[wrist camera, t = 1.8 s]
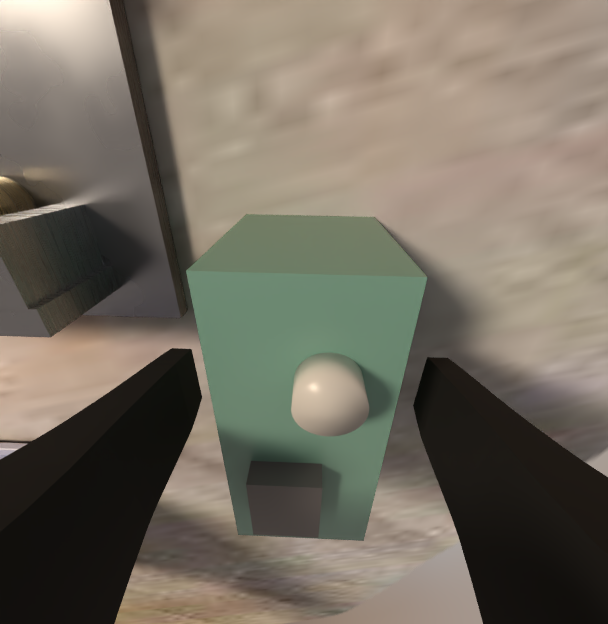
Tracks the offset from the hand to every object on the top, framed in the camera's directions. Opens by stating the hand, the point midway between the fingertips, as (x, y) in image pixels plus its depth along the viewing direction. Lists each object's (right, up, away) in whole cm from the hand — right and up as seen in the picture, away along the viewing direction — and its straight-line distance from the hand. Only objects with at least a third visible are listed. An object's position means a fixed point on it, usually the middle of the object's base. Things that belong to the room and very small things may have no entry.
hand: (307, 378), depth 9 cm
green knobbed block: (0, +1, +2) cm, 3 cm away
